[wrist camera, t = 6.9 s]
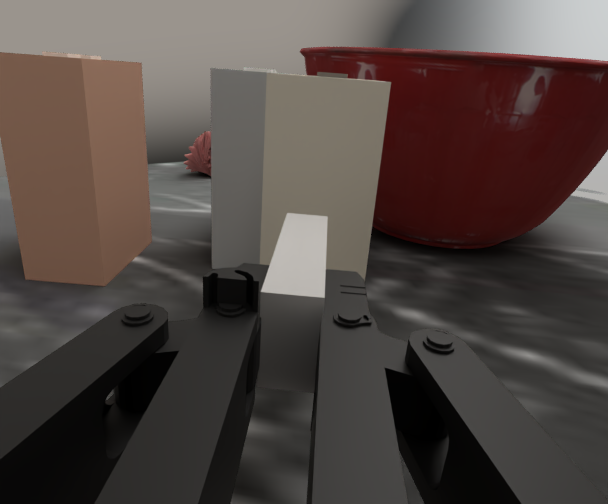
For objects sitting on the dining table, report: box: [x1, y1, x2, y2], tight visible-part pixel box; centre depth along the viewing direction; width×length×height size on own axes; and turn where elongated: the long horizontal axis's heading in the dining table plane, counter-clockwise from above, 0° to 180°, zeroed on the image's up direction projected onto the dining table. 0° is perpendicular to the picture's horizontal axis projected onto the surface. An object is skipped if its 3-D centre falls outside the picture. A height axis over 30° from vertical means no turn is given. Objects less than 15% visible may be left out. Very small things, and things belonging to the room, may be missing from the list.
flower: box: [184, 131, 211, 176], centre depth 57 cm, size 8×8×6 cm
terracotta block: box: [0, 52, 152, 286], centre depth 29 cm, size 8×5×13 cm, turn 177°
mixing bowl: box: [300, 47, 608, 249], centre depth 42 cm, size 28×28×15 cm
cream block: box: [260, 72, 391, 281], centre depth 24 cm, size 8×5×13 cm, turn 174°
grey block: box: [211, 67, 296, 269], centre depth 33 cm, size 8×5×13 cm, turn 177°
